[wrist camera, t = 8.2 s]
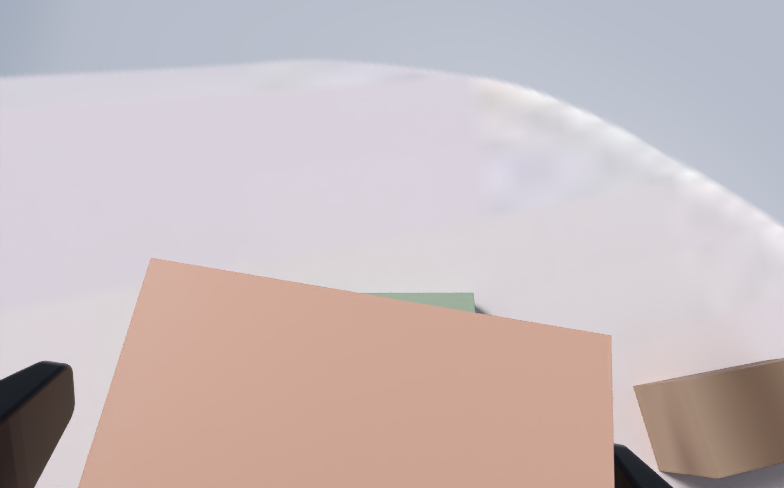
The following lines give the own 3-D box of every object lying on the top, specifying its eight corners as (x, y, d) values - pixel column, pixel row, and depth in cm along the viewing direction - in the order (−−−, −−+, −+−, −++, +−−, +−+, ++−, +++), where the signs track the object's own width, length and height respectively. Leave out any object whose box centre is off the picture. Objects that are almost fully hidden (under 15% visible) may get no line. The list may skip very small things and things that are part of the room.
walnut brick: (758, 361, 21) (829, 351, 18) (789, 439, 20) (868, 441, 17) (630, 386, 19) (685, 380, 17) (656, 470, 19) (718, 478, 16)
